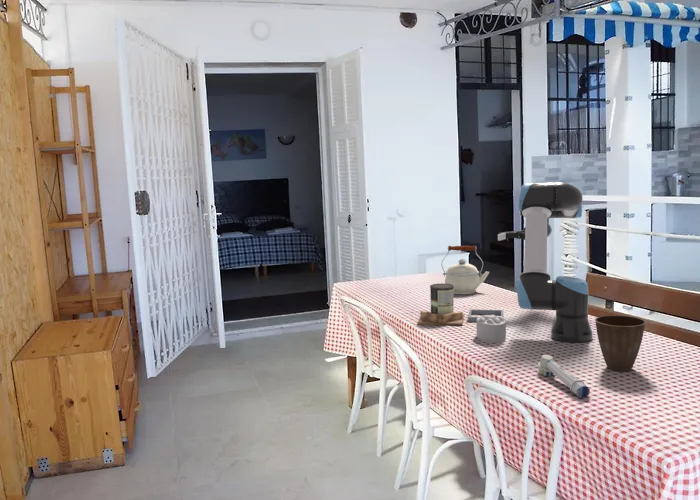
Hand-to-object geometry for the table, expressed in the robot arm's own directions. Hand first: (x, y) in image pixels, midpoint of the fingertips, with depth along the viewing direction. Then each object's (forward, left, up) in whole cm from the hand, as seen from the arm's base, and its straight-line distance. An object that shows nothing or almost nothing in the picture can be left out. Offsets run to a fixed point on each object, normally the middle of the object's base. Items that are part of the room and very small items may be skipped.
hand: (513, 238), depth 274 cm
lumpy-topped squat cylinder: (-37, +9, -35) cm, 52 cm away
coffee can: (-8, +31, -34) cm, 47 cm away
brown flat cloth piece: (-11, +31, -35) cm, 48 cm away
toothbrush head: (-86, -13, -36) cm, 94 cm away
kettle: (+53, +24, -35) cm, 68 cm away
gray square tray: (-4, +12, -35) cm, 37 cm away
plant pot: (-68, -32, -35) cm, 83 cm away
